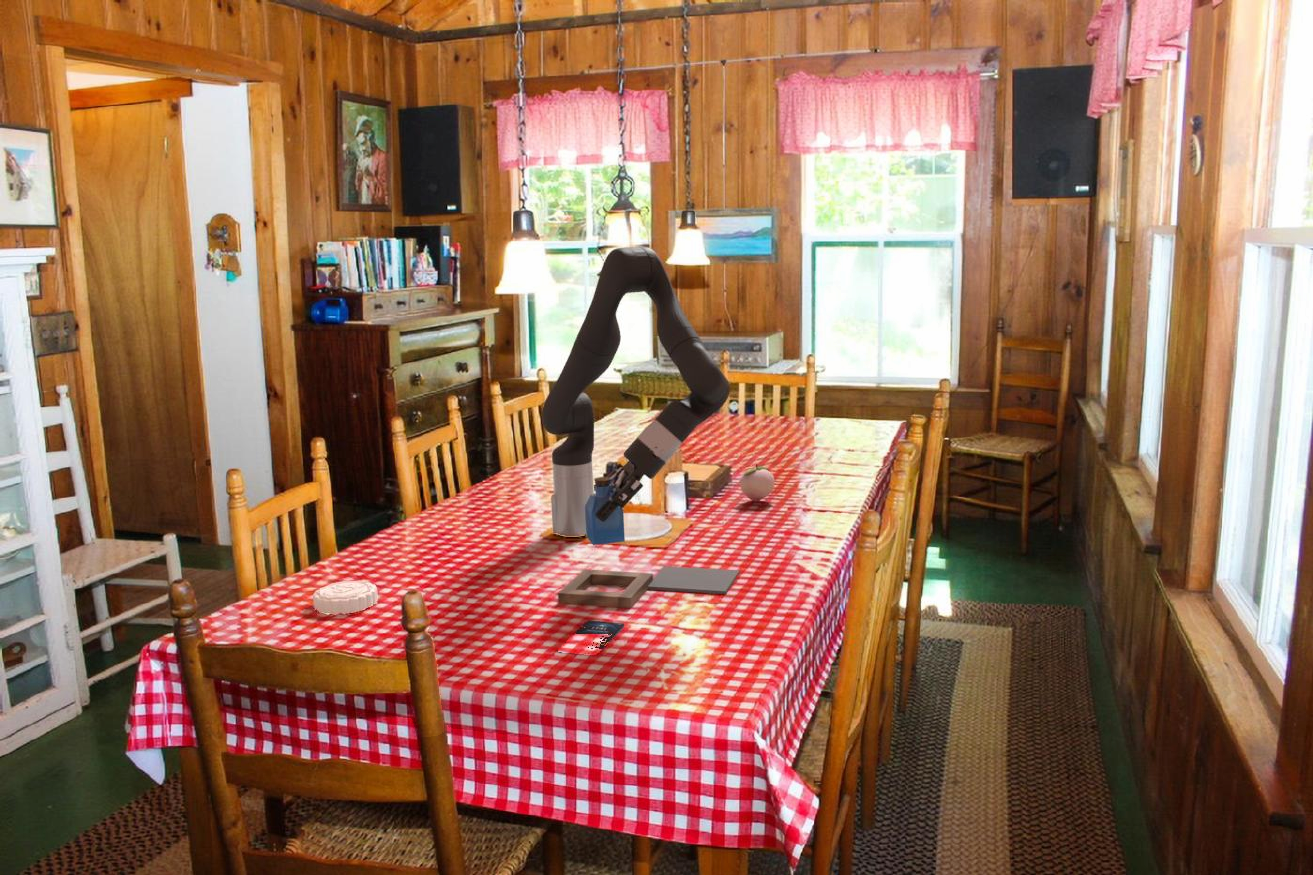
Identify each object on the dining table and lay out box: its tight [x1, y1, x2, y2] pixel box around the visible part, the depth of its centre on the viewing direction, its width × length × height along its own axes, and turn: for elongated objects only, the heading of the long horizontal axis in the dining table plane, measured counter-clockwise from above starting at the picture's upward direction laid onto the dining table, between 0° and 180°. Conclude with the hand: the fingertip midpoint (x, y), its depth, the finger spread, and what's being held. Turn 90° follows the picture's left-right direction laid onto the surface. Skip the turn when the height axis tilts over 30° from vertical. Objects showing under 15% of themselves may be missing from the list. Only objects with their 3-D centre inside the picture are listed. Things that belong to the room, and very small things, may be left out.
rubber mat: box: [648, 565, 740, 595], centre depth 214 cm, size 16×13×1 cm
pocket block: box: [557, 569, 654, 609], centre depth 209 cm, size 15×15×2 cm
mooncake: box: [312, 580, 379, 614], centre depth 207 cm, size 12×12×4 cm
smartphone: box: [573, 620, 626, 650], centre depth 186 cm, size 8×1×15 cm
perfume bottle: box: [585, 476, 626, 546], centre depth 206 cm, size 6×6×12 cm
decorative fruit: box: [739, 463, 775, 503], centre depth 273 cm, size 9×8×10 cm
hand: (595, 513), depth 206 cm, fingers closed on perfume bottle, 6 cm apart
